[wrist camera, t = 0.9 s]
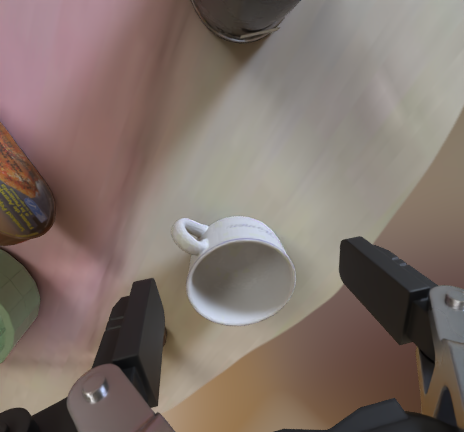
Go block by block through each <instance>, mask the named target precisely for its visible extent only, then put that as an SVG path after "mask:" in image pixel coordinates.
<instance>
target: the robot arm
mask: <svg viewBox="0 0 464 432" xmlns="http://www.w3.org/2000/svg"><path fill="white" fill-rule="evenodd" d="M300 1H301V0H191V2H192V5H193V7H194V9H195V11H196V13H197V15H198V16H199V18H200V19H201V21H202V22H203V23H204V24H205V25H206V26H207V28H208V29H209V30H211V31H212V32H213V33H214V34H216V35H217V36H219V37H221V38H223V39H225V40H227V41H231V42H235V43H249V42H254V41H257V40H259V39H261V38H263V37H265V36H267V35H268V34H270V33H271V32H273V31H277V30H278V29H279V28H280V27H279V28H276V27H277V26H278V25H279V24H280V23H281V22H282V20H283V19H284V18H285V16H286V15H287V14H288V13H289V12H290V11H291V10H292V9H293V8H294V7H295V6H296V5H297V4H298V3H299V2H300ZM339 273H340V277H341V279H342V281H343V283H344V284H345V285H346V286H347V288H348V289H349V290H350V291H351V292H352V293H353V294H354V295H355V296H356V298H357V299H358V300H359V301H360V302H361V303H362V304H363V305H364V306H365V307H366V309H367V310H368V311H369V312H370V313H371V314H372V315H373V316H374V317H375V319H376V320H377V321H378V322H379V323H380V324H381V325H382V326H383V327H384V328H385V330H386V331H387V332H388V333H389V334H390V335H391V336H392V337H393V338H394V340H395V341H396V342H397V343H398V344H399V345H403V344H406V343H410V342H414V343H415V344H416V346H417V348H416V360H417V369H418V378H419V386H420V395H421V414H420V413H415V412H409V411H404V410H403V409H402V407H401V406H400V404H399V403H398V402H397V401H396V399H395V398H393V399H389V400H386V401H382V402H378V403H375V404H371V405H368V406H364V407H361V408H359V409H357V410H356V411H355V412H353V413H352V414H350V415H349V416H347V417H346V418H345V419H343V420H342V421H340V422H339V423H338V424H336V425H335V426H334V427H332V428H330V429H328V430H302V429H282V430H278V431H275V432H464V289H461V288H458V287H454V286H445V285H442V286H438V285H437V284H435V283H434V282H432V281H431V280H430V279H428V278H427V277H425V276H424V275H422V274H421V273H420V272H418V271H417V270H415V269H414V268H413V267H411V266H410V265H407V263H405V262H404V261H403V260H401V259H399V258H398V257H397V256H396V255H394V254H393V253H391V252H390V251H389V250H386V249H384V248H381V247H379V246H376V245H372V244H371V243H370V242H368V241H367V240H365V239H364V238H363V237H360V236H359V237H354V238H349V239H344V240H342V241H341V244H340V261H339ZM164 326H165V316H164V310H163V306H162V302H161V299H160V296H159V292H158V289H157V286H156V282H155V280H154V278H150V279H145V280H140V281H136V282H134V283H133V285H132V289H131V292H130V296H126V297H122V298H121V299H120V300H119V301H118V302H117V304H116V305H115V306H114V307H113V309H112V312H111V314H110V317H109V321H108V323H107V326H106V331H105V332H104V335H103V338H102V340H101V343H100V346H99V349H98V352H97V355H96V358H95V361H94V364H93V366H92V369H91V370H89V371H88V372H86V373H85V374H84V375H82V376H81V377H80V378H79V379H78V380H77V381H76V383H75V384H74V385H73V387H72V388H71V390H70V392H69V394H68V397H66V398H65V399H63V400H61V401H59V402H58V403H56V404H54V405H52V406H50V407H48V408H46V409H44V410H42V411H40V412H38V413H36V414H35V415H33V416H31V415H30V413H29V412H28V411H27V410H26V409H24V408H13V409H9V410H6V411H4V412H2V413H0V432H175V431H174V430H173V428H172V427H171V426H170V424H169V423H168V422H167V421H166V420H165V418H164V417H163V416H162V415H161V414H160V413H158V412H157V413H156V414H155V413H154V412H153V410H152V409H151V408H152V407H156V406H158V398H159V386H160V374H161V362H162V350H163V338H164Z"/></svg>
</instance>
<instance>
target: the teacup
mask: <svg viewBox="0 0 464 432" xmlns="http://www.w3.org/2000/svg"><path fill="white" fill-rule="evenodd" d="M189 233H190V234H192V235H194V236H196V237H198V239H197V240H196V239H194V238H193V237H192V236H191V235H190V234H189ZM171 235H172V238H173V240H174V242H175V243H176V244H177V245H178V246H179V247H180V248H181V249H182V250H184V251H185V252H187V253H189V254H192V255H191V260H190V267H189V274H188V276H187V281H186V292H187V296H188V299H189V301H190V303H191V305H192V306H193V307H194V309H195V310H196V311H197V312H198V313H199V314H200V315H201V316H203V317H204V318H206V319H208V320H209V321H212V322H215V323H217V324H222V325H227V326H245V325H250V324H254V323H258V322H260V321H263V320H265V319H267V318H269V317H271V316H273V315H275V314H276V313H277V312H278V311H279V310H281V309H282V308H283V307H284V306H285V305H286V304H287V302H288V301H289V299H290V298H291V296H292V294H293V292H294V289H295V283H296V273H295V269H294V265H293V263H292V261H291V259H290V258H289V257H288V255H287V254H286V252H285V250H284V248H283V246H282V244H281V242H280V241H279V239H278V237H277V236H276V235H275V233H274V232H273V231H272V230H271V229H270V228H269V227H268V226H267V225H265V224H264V223H262V222H260V221H258V220H256V219H253V218H250V217H244V216H233V217H227V218H223V219H221V220H218V221H216V222H214V223H213V224H211V225H210V226H207V225H202V224H200V223H198V222H195V221H193V220H190V219H187V218H182V219H179V220H178V221H177V222H176V223H175V224H174V225H173V227H172V229H171Z"/></svg>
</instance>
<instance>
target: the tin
mask: <svg viewBox="0 0 464 432" xmlns="http://www.w3.org/2000/svg"><path fill="white" fill-rule="evenodd" d="M55 215H56V208H55V202H54V198H53V195H52V193H51V191H50V189H49V187H48V185H47V184H46V182H45V181H44V180H43V178H42V177H41V176H40V174H39V173H38V172H37V170H36V169H35V168H34V166H33V165H32V164H31V162H30V161H29V160H28V158H27V157H26V156H25V154H24V153H23V152H22V150H21V149H20V148H19V146H18V145H17V144H16V142H15V141H14V139H13V138H12V137H11V135H10V134H9V133H8V131H7V130H6V129H5V127H4V126H3V125H2V123H1V122H0V246H8V245H15V244H18V243H22V242H24V241H27V240H29V239H33V238H37V237H40V236H42V235H44V234H45V233H46V232H47V231H48V230H49V229H50V228H51V227H52V225H53V223H54V220H55Z"/></svg>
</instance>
